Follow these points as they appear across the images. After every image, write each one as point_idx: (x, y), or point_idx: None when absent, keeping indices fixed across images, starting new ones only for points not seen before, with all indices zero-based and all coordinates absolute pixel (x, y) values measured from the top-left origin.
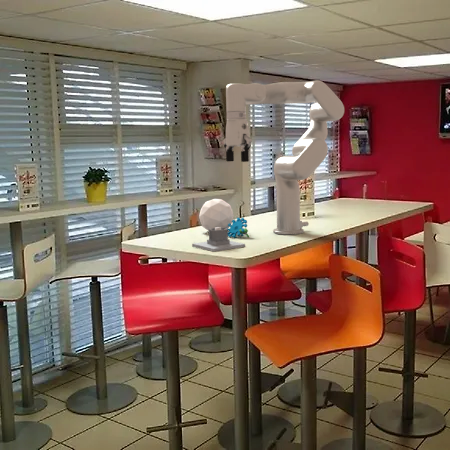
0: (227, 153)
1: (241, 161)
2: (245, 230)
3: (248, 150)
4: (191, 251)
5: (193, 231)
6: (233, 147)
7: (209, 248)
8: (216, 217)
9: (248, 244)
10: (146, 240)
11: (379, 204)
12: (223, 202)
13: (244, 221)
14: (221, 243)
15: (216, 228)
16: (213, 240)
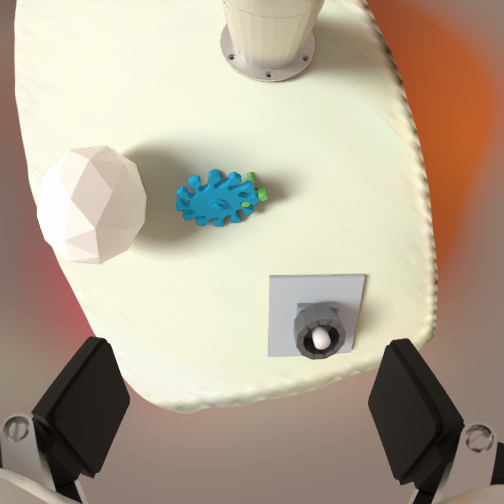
0: (104, 459)
1: (372, 402)
2: (266, 199)
3: (477, 432)
4: (314, 374)
5: None
6: (45, 474)
7: (337, 352)
8: (133, 234)
9: (345, 248)
10: (140, 372)
11: None
12: (89, 200)
13: (234, 182)
14: None
15: (324, 347)
16: None
